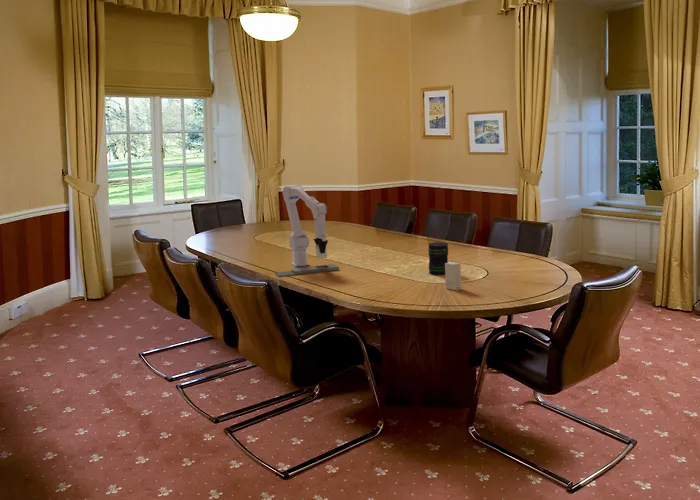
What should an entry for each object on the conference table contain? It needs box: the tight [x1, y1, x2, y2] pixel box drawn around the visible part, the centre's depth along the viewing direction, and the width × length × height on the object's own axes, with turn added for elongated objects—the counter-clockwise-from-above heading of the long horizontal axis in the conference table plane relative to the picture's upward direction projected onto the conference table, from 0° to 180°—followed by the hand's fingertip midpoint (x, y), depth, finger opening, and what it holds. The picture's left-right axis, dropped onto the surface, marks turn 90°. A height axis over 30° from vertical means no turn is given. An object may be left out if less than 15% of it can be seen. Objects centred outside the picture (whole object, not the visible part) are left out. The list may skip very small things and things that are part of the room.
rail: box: [290, 263, 340, 276], centre depth 363 cm, size 8×24×2 cm, turn 108°
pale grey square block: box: [315, 243, 328, 260], centre depth 363 cm, size 4×4×7 cm
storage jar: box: [427, 241, 449, 276], centre depth 346 cm, size 10×10×15 cm
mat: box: [274, 270, 297, 278], centre depth 358 cm, size 9×9×1 cm
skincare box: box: [444, 261, 462, 291], centre depth 314 cm, size 6×4×12 cm
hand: (321, 252), depth 363 cm, fingers closed on pale grey square block, 4 cm apart
